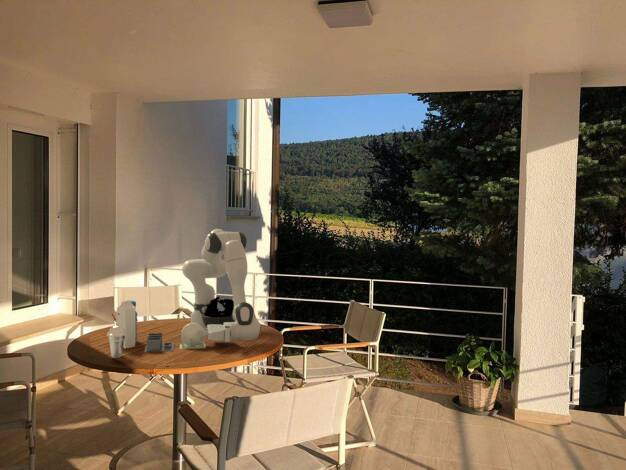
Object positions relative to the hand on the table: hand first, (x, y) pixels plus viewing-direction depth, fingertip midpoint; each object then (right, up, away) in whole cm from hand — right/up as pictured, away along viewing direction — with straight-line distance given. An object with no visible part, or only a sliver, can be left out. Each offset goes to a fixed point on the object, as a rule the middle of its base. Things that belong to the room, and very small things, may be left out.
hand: (197, 332), depth 251 cm
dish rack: (-17, -7, -4) cm, 19 cm away
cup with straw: (-32, -8, -18) cm, 37 cm away
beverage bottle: (-37, -7, +11) cm, 39 cm away
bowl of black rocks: (+4, -7, +35) cm, 36 cm away
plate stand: (-2, -8, 0) cm, 8 cm away
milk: (-34, -7, 0) cm, 35 cm away
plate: (-2, -7, 0) cm, 7 cm away
